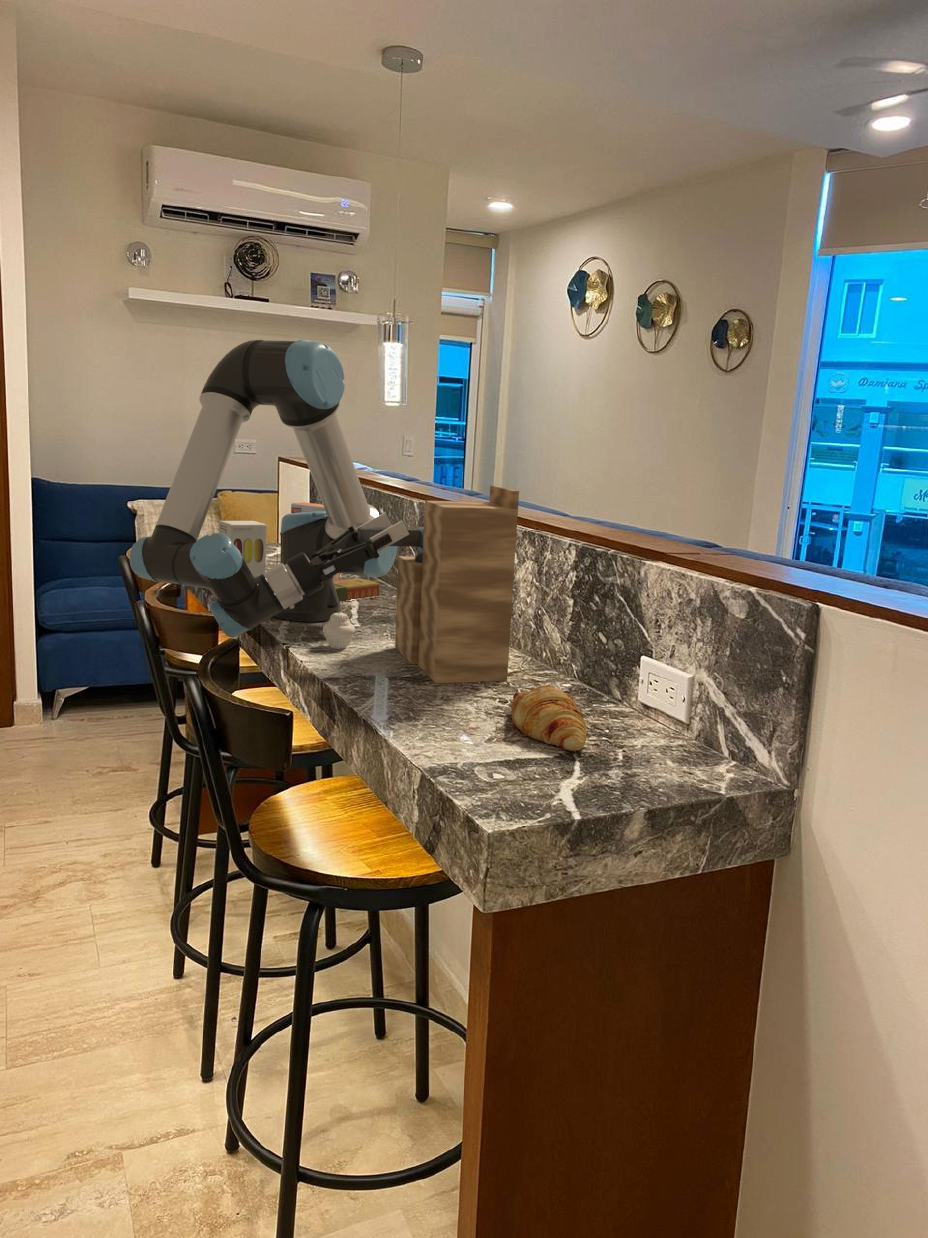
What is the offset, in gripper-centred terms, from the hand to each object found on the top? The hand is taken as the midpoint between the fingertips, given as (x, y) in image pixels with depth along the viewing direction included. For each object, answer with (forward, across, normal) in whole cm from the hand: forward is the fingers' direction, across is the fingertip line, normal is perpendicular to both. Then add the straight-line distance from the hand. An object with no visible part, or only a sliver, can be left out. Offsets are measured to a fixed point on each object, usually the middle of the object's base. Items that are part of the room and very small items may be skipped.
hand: (396, 522), depth 172 cm
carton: (-12, -57, -23) cm, 63 cm away
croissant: (-2, +46, -28) cm, 54 cm away
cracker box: (-15, -78, -21) cm, 83 cm away
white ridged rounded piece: (-20, -8, -18) cm, 28 cm away
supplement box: (-32, -71, -11) cm, 78 cm away
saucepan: (-1, 0, -8) cm, 8 cm away
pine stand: (-5, +8, -26) cm, 28 cm away
